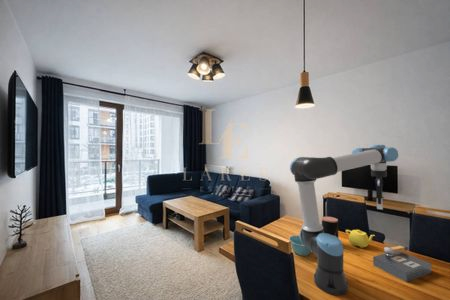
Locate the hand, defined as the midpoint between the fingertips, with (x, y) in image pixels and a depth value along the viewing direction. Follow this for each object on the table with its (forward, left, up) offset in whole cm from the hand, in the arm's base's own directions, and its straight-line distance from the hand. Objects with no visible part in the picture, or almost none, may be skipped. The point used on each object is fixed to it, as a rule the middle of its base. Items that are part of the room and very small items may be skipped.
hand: (379, 208), depth 117 cm
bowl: (-36, +27, -33) cm, 56 cm away
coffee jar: (-7, +30, -33) cm, 45 cm away
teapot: (+10, +20, -33) cm, 40 cm away
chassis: (+4, -8, -32) cm, 34 cm away
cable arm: (+10, -2, -26) cm, 28 cm away
